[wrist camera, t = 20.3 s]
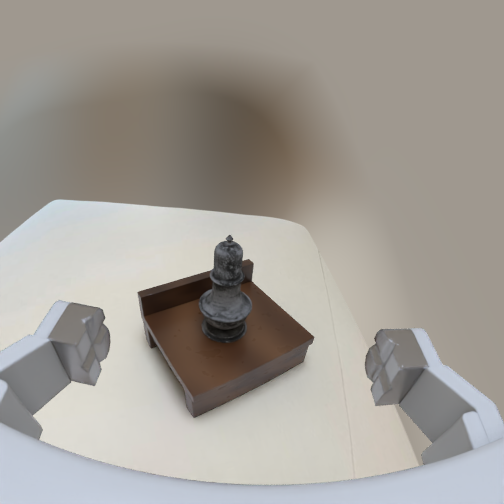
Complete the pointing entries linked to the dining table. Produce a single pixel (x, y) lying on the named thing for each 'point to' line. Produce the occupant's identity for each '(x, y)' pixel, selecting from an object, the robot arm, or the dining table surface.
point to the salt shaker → (226, 296)
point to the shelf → (216, 353)
